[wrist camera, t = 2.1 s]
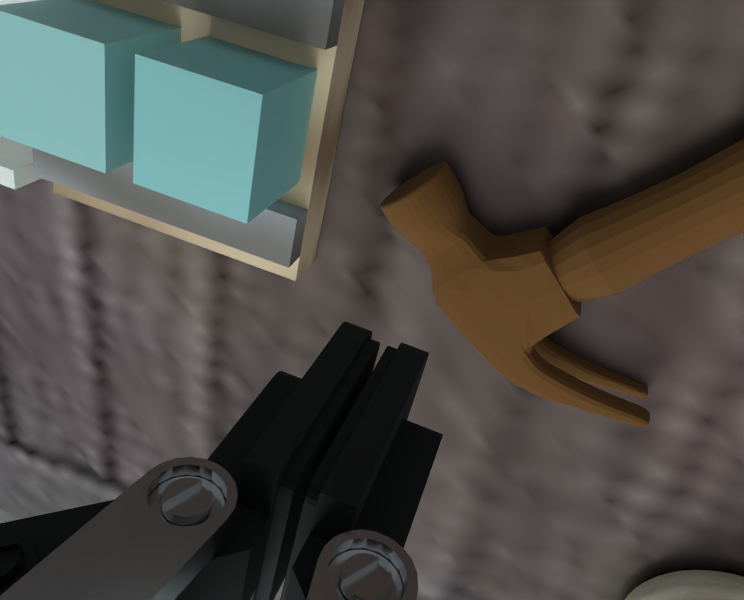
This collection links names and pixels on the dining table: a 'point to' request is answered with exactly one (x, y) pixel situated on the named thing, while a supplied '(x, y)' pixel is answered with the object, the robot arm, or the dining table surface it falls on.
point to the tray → (15, 153)
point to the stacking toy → (691, 586)
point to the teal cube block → (220, 125)
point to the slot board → (308, 198)
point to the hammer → (562, 270)
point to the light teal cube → (74, 77)
